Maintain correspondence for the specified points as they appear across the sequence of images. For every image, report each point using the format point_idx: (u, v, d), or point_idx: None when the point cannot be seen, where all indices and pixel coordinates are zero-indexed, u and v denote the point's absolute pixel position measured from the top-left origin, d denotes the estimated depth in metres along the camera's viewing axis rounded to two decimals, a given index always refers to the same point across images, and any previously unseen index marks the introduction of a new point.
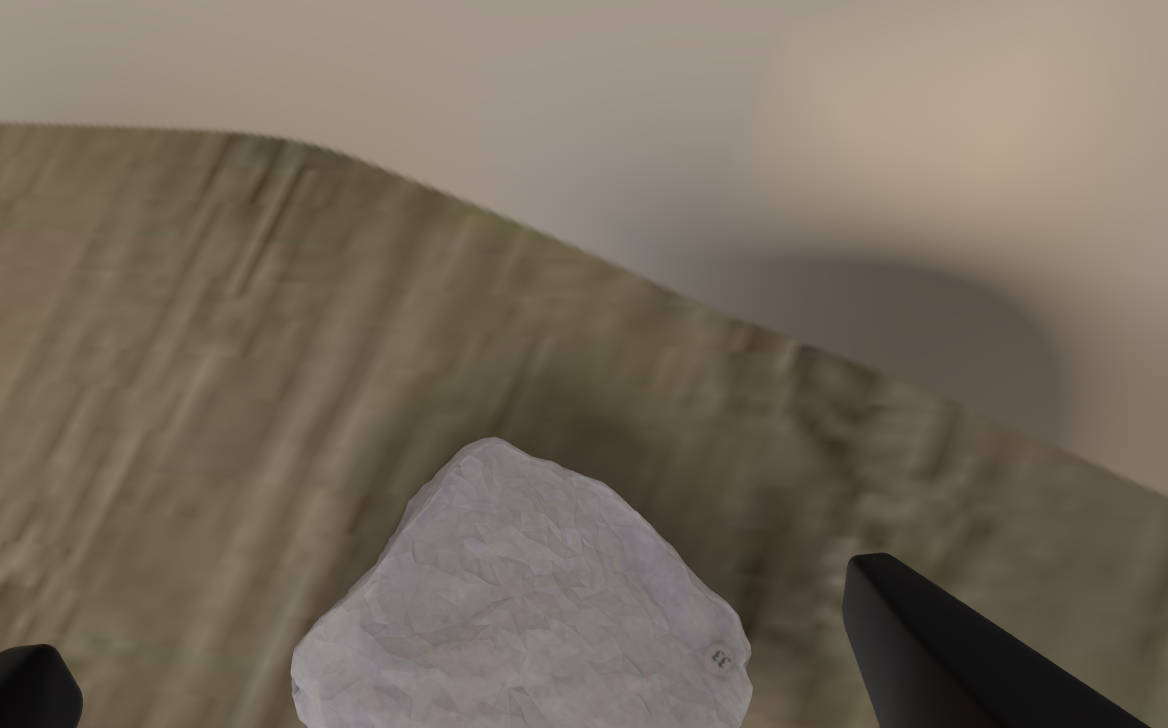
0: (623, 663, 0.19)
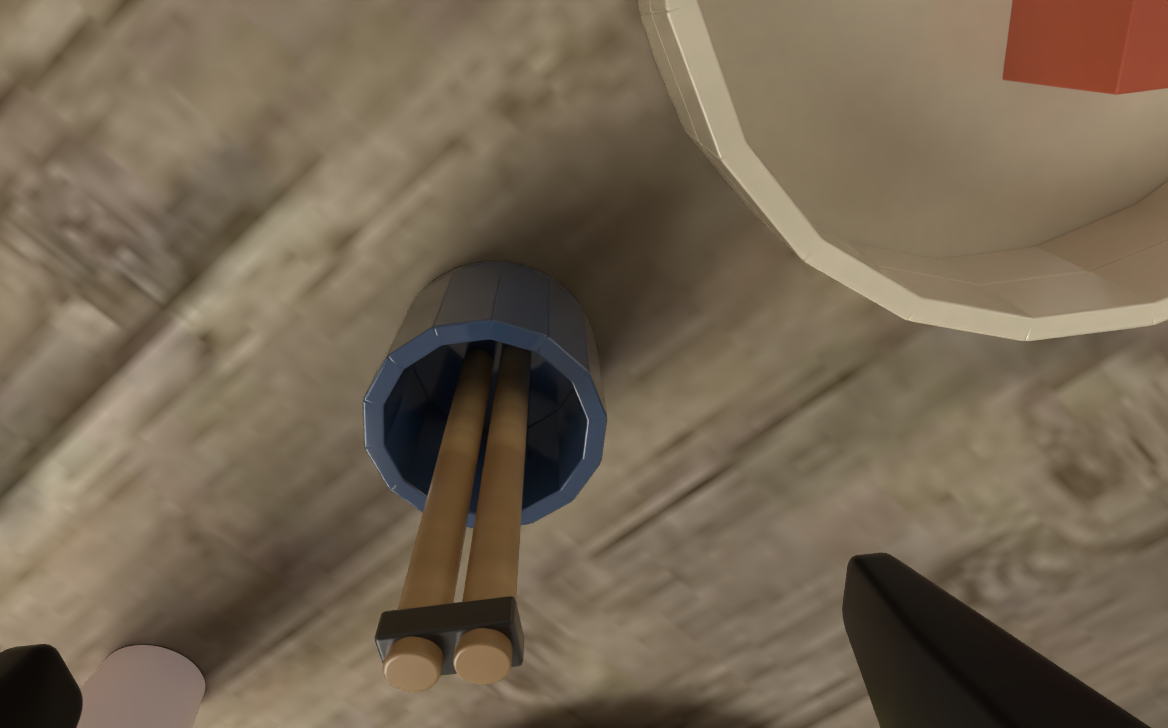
0: None
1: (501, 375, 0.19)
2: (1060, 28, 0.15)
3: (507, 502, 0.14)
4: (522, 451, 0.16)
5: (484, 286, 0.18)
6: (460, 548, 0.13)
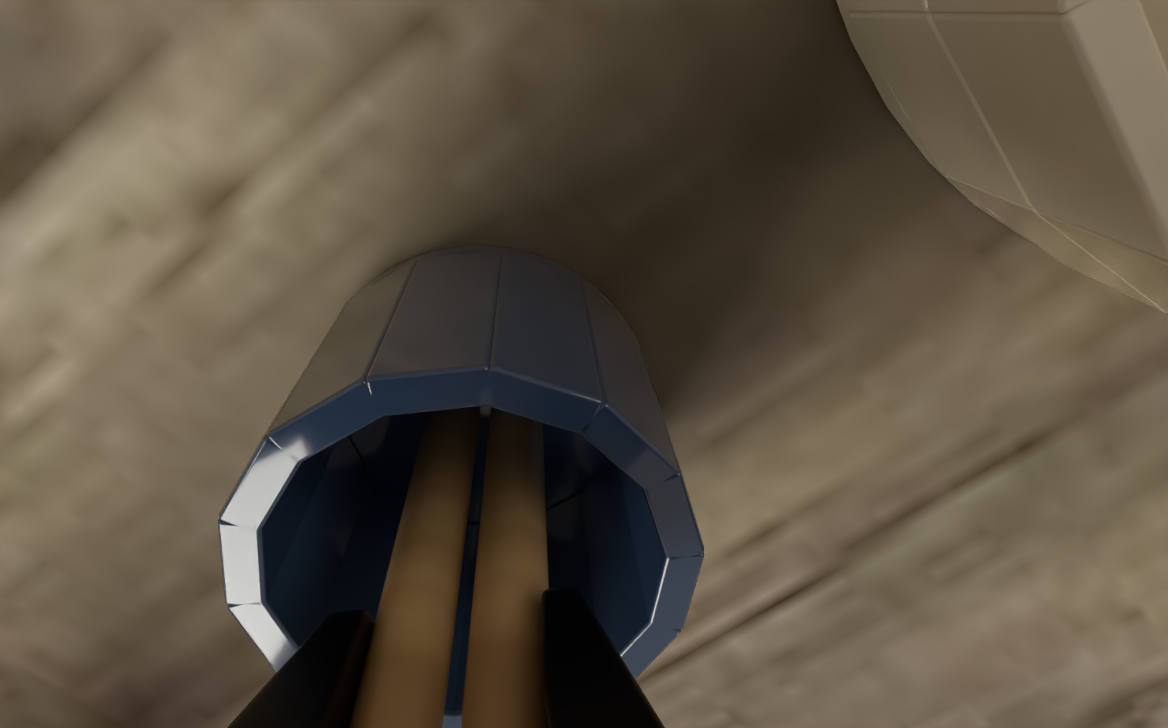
0: None
1: (495, 450, 0.11)
2: None
3: None
4: None
5: (470, 292, 0.09)
6: None
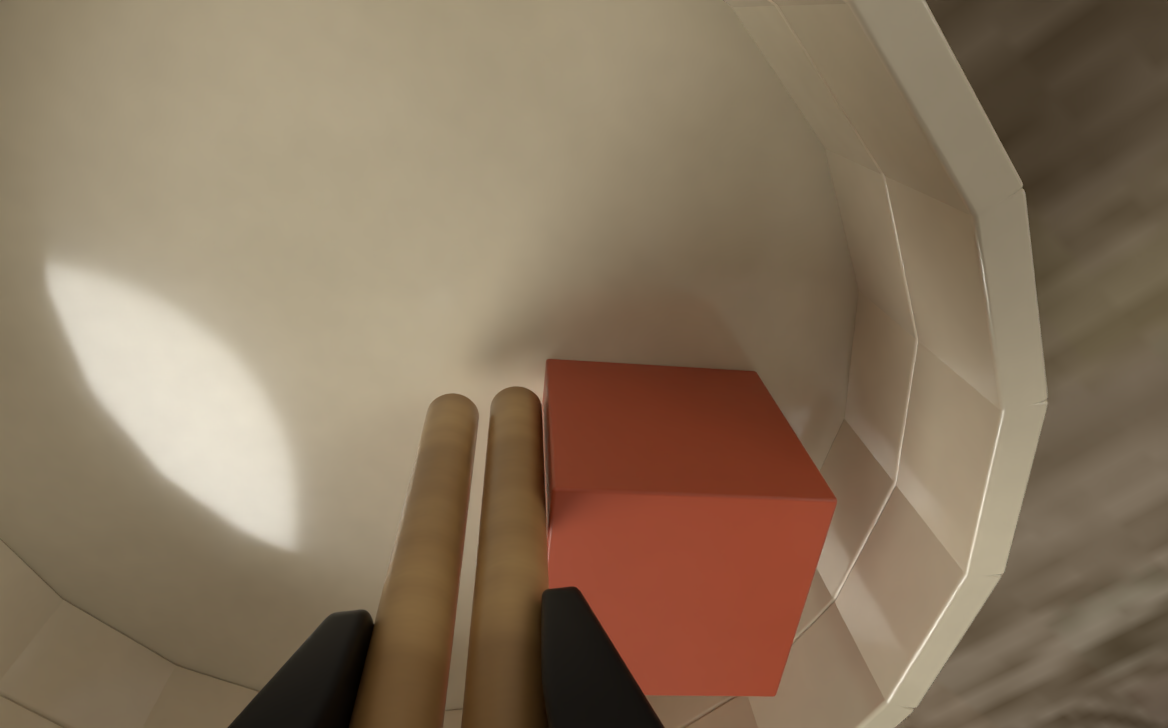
0: None
1: (495, 449, 0.11)
2: None
3: None
4: None
5: None
6: None
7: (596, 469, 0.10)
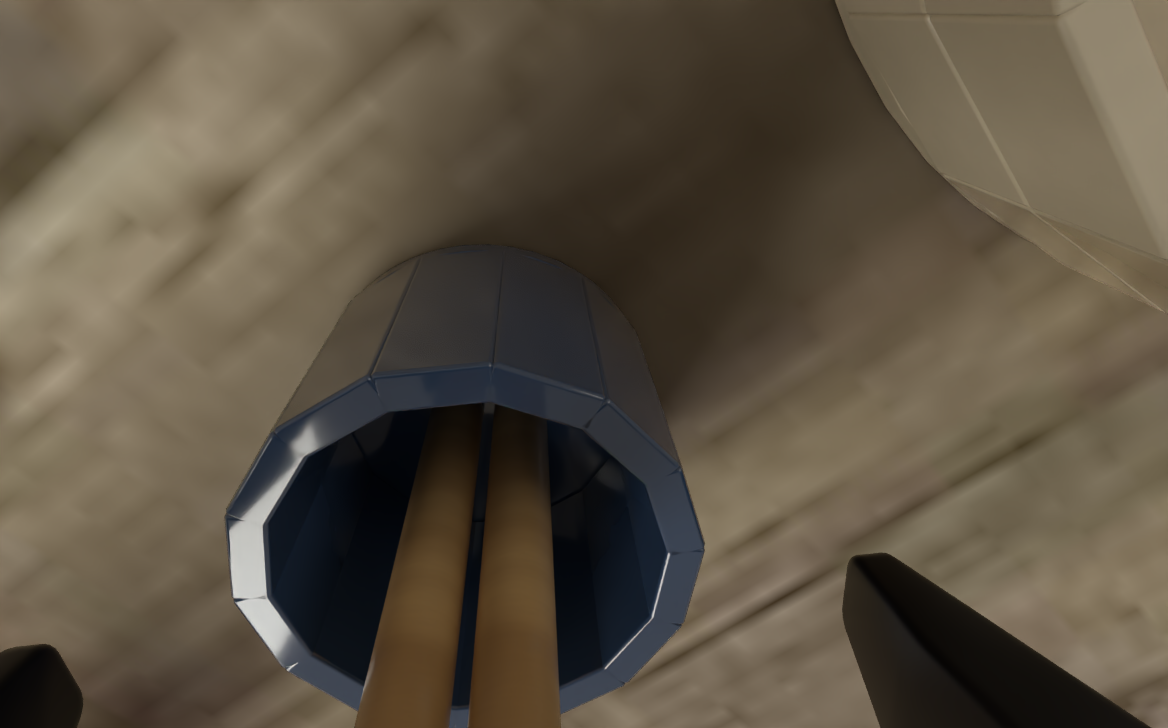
0: None
1: (500, 443, 0.11)
2: None
3: None
4: (553, 632, 0.08)
5: (472, 289, 0.10)
6: None
7: None
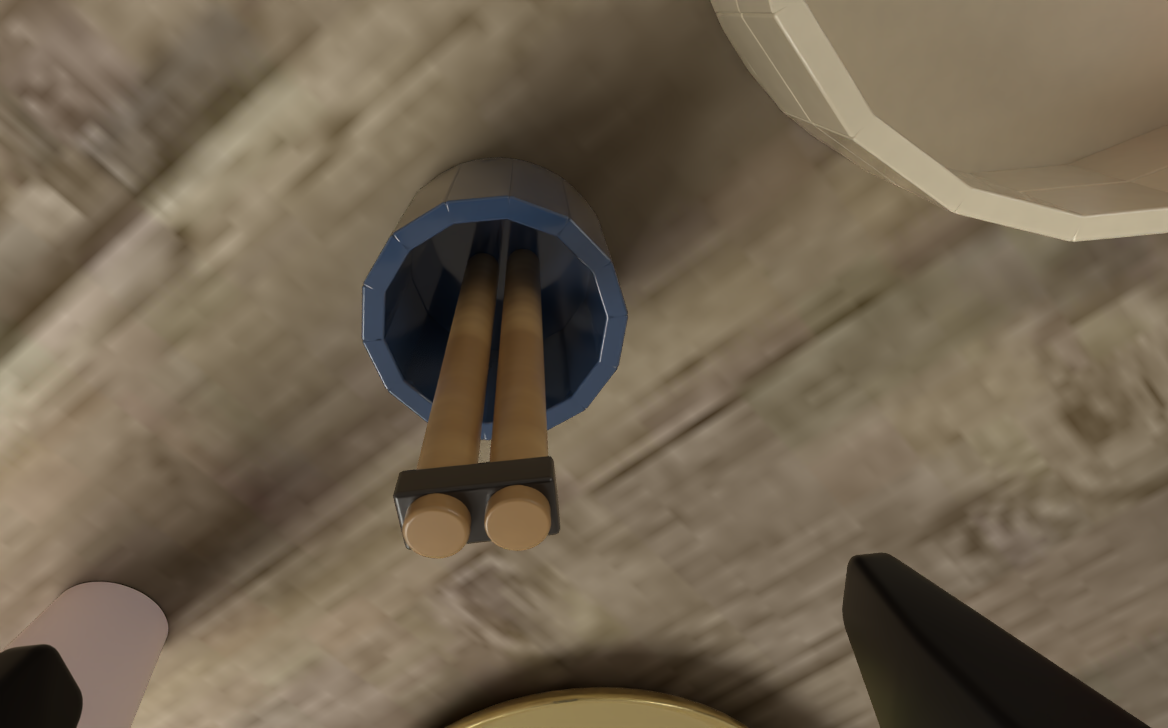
0: None
1: (511, 274, 0.17)
2: None
3: (531, 378, 0.12)
4: (541, 338, 0.14)
5: (496, 173, 0.16)
6: (480, 422, 0.12)
7: None
